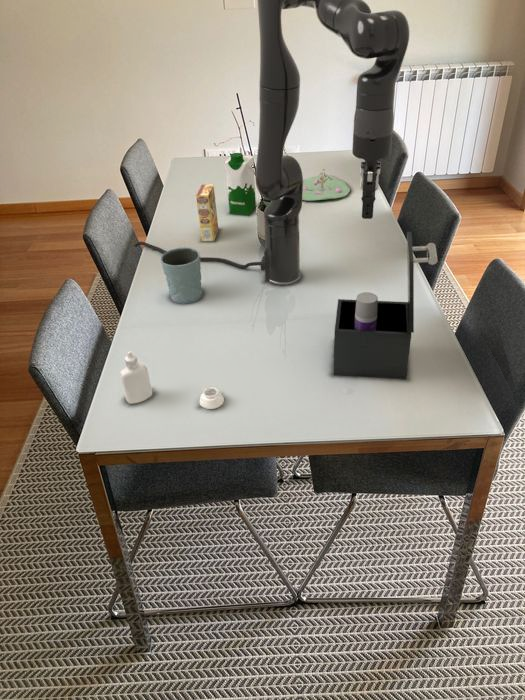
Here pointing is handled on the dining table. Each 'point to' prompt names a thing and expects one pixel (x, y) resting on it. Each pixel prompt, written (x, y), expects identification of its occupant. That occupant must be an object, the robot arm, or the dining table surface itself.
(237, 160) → the milk carton
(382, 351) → the bin
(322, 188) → the plant
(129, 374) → the eye dropper bottle
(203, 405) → the lidless jar
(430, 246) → the bin lid
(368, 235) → the dining table surface
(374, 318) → the container
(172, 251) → the grey-green cup
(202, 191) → the candy box
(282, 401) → the dining table surface
